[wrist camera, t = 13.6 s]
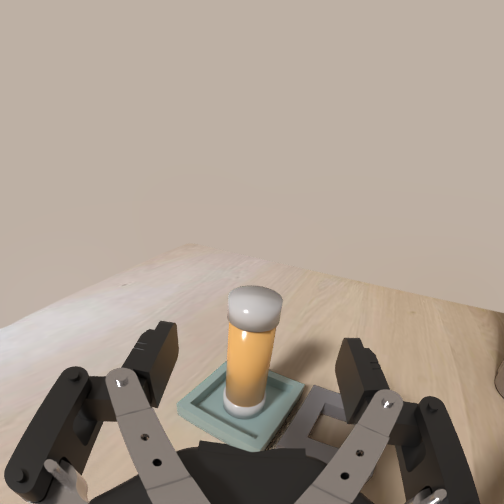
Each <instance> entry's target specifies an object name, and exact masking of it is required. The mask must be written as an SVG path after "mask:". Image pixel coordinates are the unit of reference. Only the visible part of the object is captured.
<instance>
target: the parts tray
mask: <svg viewBox="0 0 504 504" xmlns="http://www.w3.org/2000/svg"><path fill="white" fill-rule="evenodd" d="M226 370H227V361H226V362H225V363H223V364H222V365H221V366H220V367H219V368H218V369H217V370H215V371H214V372H213V373H212V374H211V375H210V376H209V377H207V378H206V379H205V380H204V381H203V382H202V383H200V384H199V385H198V386H197V387H196V388H195V389H193V390H192V391H191V392H190V393H189V394H187V395H186V396H185V397H184V398H183V399H181V400H180V401H179V402H178V403H177V411H178V415H180V416H181V417H183V418H184V419H186V420H187V421H189V422H191V423H192V424H194V425H195V426H197V427H199V428H200V429H202V430H204V431H205V432H207V433H209V434H210V435H212V436H214V437H216V438H218V439H219V440H221V441H223V442H225V443H227V444H228V445H230V446H233V447H236V448H240V449H243V450H246V451H250V452H259V451H264V450H265V449H266V447H267V446H268V445H269V443H270V442H271V440H272V439H273V438H274V436H275V435H276V433H277V432H278V430H279V429H280V427H281V426H282V425H283V423H284V422H285V420H286V419H287V417H288V416H289V414H290V412H291V411H292V409H293V408H294V406H295V405H296V403H297V402H298V400H299V398H300V397H301V395H302V392H303V389H304V386H305V384H302V383H300V382H297V381H294V380H292V379H289V378H287V377H284V376H282V375H279V374H277V373H274V372H272V371H270V370H269V373H268V378H267V384H266V389H265V391H266V399H265V404H264V409H263V411H262V413H261V414H260V415H259V416H257V417H255V418H253V419H247V420H242V419H237V418H234V417H232V416H230V415H229V414H228V413H227V412H226V411H225V409H224V407H223V392H224V388H225V386H226Z"/></svg>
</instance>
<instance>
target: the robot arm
mask: <svg viewBox="0 0 504 504" xmlns="http://www.w3.org/2000/svg"><path fill="white" fill-rule="evenodd" d="M178 352H179V347H178V336H177V325H176V323H172V322H166V321H160V322H159V324H158V325H157V327H156V329H155V330H152V329H149V330H147V331H146V332H144V333H143V334H142V335H141V336H140V338H139V339H138V341H137V343H136V344H135V346H134V348H133V349H132V351H131V352H130V354H129V356H128V357H127V359H126V361H125V362H124V364H123V366H122V367H121V368H117V369H114V370H112V371H110V372H109V373H108V374H107V376H104V377H98V376H89V375H88V373H87V371H86V370H85V369H84V368H81V367H76V366H75V367H70V368H67V369H66V370H64V371H63V372H62V373H61V375H60V376H59V378H58V379H57V381H56V382H55V384H54V385H53V387H52V388H51V390H50V392H49V393H48V395H47V396H46V398H45V399H44V401H43V403H42V404H41V406H40V407H39V409H38V411H37V412H36V414H35V416H34V417H33V419H32V421H31V422H30V424H29V426H28V427H27V429H26V431H25V433H24V434H23V436H22V438H21V440H20V442H19V443H18V445H17V447H16V449H15V451H14V453H13V455H12V457H11V458H10V460H9V462H8V464H7V466H6V468H5V472H4V477H5V481H6V483H7V485H8V486H9V487H10V488H11V489H12V490H13V491H14V492H15V493H17V494H18V495H19V496H21V497H22V499H24V500H25V501H26V502H28V503H29V504H374V503H373V502H372V501H370V500H369V499H368V498H367V497H365V496H364V495H363V494H362V493H361V492H359V491H360V490H361V488H362V487H363V485H364V484H365V482H366V480H367V479H368V477H369V475H370V474H371V472H372V470H373V469H374V467H375V465H376V463H377V462H378V460H379V458H380V456H381V454H382V452H383V450H384V449H385V447H386V445H387V444H391V445H395V448H396V452H397V457H398V461H399V466H400V471H401V475H402V480H403V486H404V491H405V496H406V503H405V504H480V501H479V497H478V494H477V490H476V487H475V484H474V481H473V477H472V474H471V471H470V468H469V465H468V463H467V460H466V457H465V454H464V451H463V449H462V446H461V444H460V441H459V438H458V436H457V433H456V431H455V428H454V426H453V424H452V421H451V419H450V417H449V414H448V412H447V410H446V407H445V405H444V403H443V402H442V401H441V400H439V399H438V398H436V397H432V396H428V397H424V398H423V399H422V400H421V401H420V403H419V404H417V403H410V402H404V401H403V400H402V398H401V396H400V395H399V394H398V393H396V392H394V391H392V390H390V388H389V386H388V384H387V381H386V379H385V376H384V374H383V372H382V370H381V367H380V365H379V364H378V360H377V358H376V355H375V354H374V353H373V352H372V351H371V350H370V349H369V348H364V347H363V344H362V342H361V340H360V338H344V339H343V342H342V345H341V348H340V351H339V354H338V357H337V360H336V365H335V373H336V377H337V382H338V386H339V390H340V394H341V399H342V403H343V407H344V412H345V416H346V421H347V424H356V425H355V427H354V428H353V430H352V431H351V433H350V434H349V436H348V437H347V439H346V440H345V441H344V443H343V444H342V446H341V447H340V449H339V450H338V451H337V453H336V454H335V455H334V457H333V458H332V459H331V461H330V462H329V463H328V464H327V463H325V462H324V461H322V460H320V459H317V458H315V457H312V456H308V455H306V450H305V448H278V449H272V450H265V451H259V452H250V451H246V450H243V449H240V448H236V447H233V446H230V445H227V444H221V443H214V442H207V441H201V440H200V442H199V446H198V447H191V448H186V449H182V450H179V451H175V449H174V448H173V446H172V444H171V442H170V440H169V439H168V437H167V435H166V433H165V431H164V429H163V427H162V425H161V423H160V421H159V419H158V417H157V415H156V413H155V411H154V409H153V408H152V407H155V408H158V406H159V403H160V401H161V398H162V396H163V393H164V391H165V388H166V386H167V383H168V381H169V378H170V376H171V373H172V371H173V368H174V366H175V363H176V361H177V358H178ZM497 372H498V374H497V376H496V378H495V384H496V387H497V390H498V391H499V393H500V394H501V395H502V396H503V397H504V360H503V362H502V364H501V365H500V367H499V369H498V370H497ZM150 406H151V407H150ZM104 421H112V422H118V425H119V428H120V431H121V433H122V436H123V439H124V441H125V444H126V446H127V449H128V451H129V454H130V456H131V458H132V461H133V463H134V465H135V467H136V470H137V472H138V475H136V476H134V477H133V478H131V479H129V480H127V481H126V482H124V483H122V484H120V485H118V486H116V487H115V488H113V489H111V490H109V491H107V492H105V493H103V494H101V495H99V496H97V497H95V498H94V499H92V500H91V501H90V502H89V501H88V498H87V492H88V486H87V483H86V481H85V479H84V478H83V477H82V473H83V471H84V468H85V465H86V463H87V460H88V458H89V455H90V453H91V450H92V448H93V445H94V443H95V440H96V438H97V436H98V433H99V431H100V429H101V426H102V424H103V422H104Z"/></svg>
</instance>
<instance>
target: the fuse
mask: <svg viewBox="0 0 504 504" xmlns="http://www.w3.org/2000/svg"><path fill="white" fill-rule="evenodd" d="M282 302H283V299H282V297H281V296H280V294H278V293H277V292H275V291H274V290H271V289H269V288H265V287H261V286H241V287H238V288H235V289H233V290H232V291H231V292H230V293H229V296H228V313H227V318H228V320H229V334H228V351H227V370H226V386H225V388H224V392H223V407H224V409H225V411H226V412H227V413H228V414H229V415H230V416H232V417H234V418H237V419H242V420H247V419H253V418H255V417H257V416H259V415H260V414H261V413H262V411H263V409H264V404H265V399H266V391H265V389H266V384H267V378H268V373H269V367H270V361H271V355H272V349H273V343H274V337H275V331H276V326H277V325H278V324H279V321H280V315H281V308H282Z"/></svg>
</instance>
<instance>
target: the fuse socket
mask: <svg viewBox="0 0 504 504" xmlns="http://www.w3.org/2000/svg"><path fill="white" fill-rule="evenodd" d="M320 413H322V414H324V415H327V416H330V417H333V418H336V419H339V420H342V421H345V422H347V421H346V416H345V412H344V407H343V403H342V399H341V394H339V393H336V392H333V391H330V390H327V389H324V388H321V387H319V386H316V385H314V386H313V387H312V389H311V391H310V393H309V394H308V396H307V398H306V399H305V401H304V403H303V404H302V406H301V408H300V409H299V411H298V412H297V414H296V416H295V417H294V419H293V420H292V422H291V424H290V425H289V427H288V428H287V430H286V431H285V433H284V434H283V436H282V437H281V439H280V440H279V442H278V443H277V446H276V448H275V449H278V448H305V450H306V455H308V456H312V457H315V458H317V459H320V460H322V461H324V462H325V463H327V464H328V463H329V462H330V461H331V459H332V458H333V457H334V455H335V454H336V453H337V451H338V450H339V448H336V447H333V446H330V445H327V444H324V443H321V442H318V441H316V440H313V439H310V438H308V436H309V434H310V432H311V430H312V428H313V427H314V425H315V423H316V421H317V419H318V417H319V415H320ZM354 425H356V424H354ZM375 466H376V465H375ZM374 469H375V467H374ZM374 469H373V470H372V472H371V474H370V475H369V477H368V479H367V480H366V482H367V481H368V480H369V479H370V478H371V477H372V475H373V472H374ZM366 482H365V483H366Z"/></svg>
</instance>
